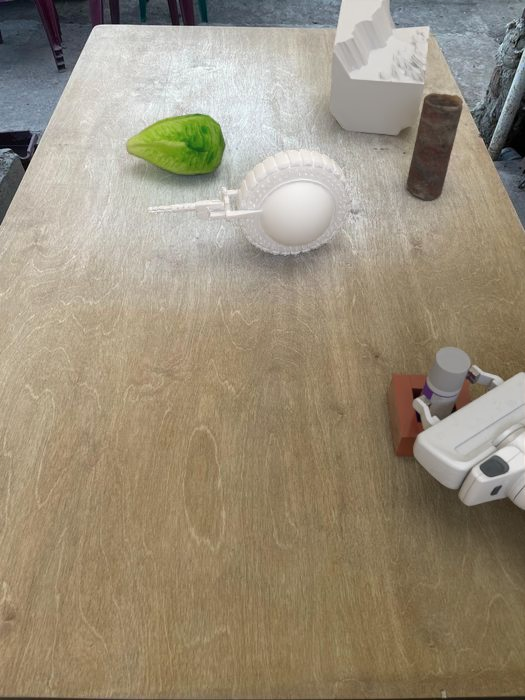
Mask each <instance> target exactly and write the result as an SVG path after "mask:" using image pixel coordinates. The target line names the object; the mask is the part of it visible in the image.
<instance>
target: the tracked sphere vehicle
mask: <svg viewBox="0 0 525 700" xmlns="http://www.w3.org/2000/svg"><path fill="white" fill-rule="evenodd" d="M252 168H253V169H250V170H249V171H248V172H247V173H246V175H245V178H243V179H242V181H241V183H240V185H239V188H238V189H228V188H227V186H222V187H221V190H220V195H221V200H220V199H218V198H217V199H205V200H196V201H195V202H184V203H174V204H171V205H159V206H157V205H154V206H149V207H147V214H149V215H154V214H155V215H158V214H163V213H164V214H167V213H187V212H194V211H195V212H196V218H197V220H201V221H209V220H210V221H222V220H225V223H230V222H231V221H232V220H238V223H239V227H240V230H241V233H242V234H243V237H245V239H246V240H247V241H248V242H249V243H250V244H251V245H252V246H254V247H255V249H257V250H258V249H260V251H262V252H263V253H269V254H272V255H274V256H279V255H280V256H284V257H287V256H290V255H291V256H297V255H300V254H301V253H302V254H308V253H309V252H311V251H312V250H315V249H316V250H318V249H319V247H322V245H325V244H328V242H329V241H331V239H333V238H334V237H337V234H338V233H339V231H341V230H342V229H344V226H345V224H346V222H347V220H349V216H350V213H351V210H352V205H353V204H352V202H353V196H352V195H353V194H352V190H351V187H350V184H349V182H348V180H347V177H346V175H345V173H344V171H343V169H342V168H341V167H340V165H339V164H338V163H337V161H335V160H334V159H333V158H331V157H329V156H328V155H326V154H325V153H321V151H316V150H309V149H305V148H302V149H301V148H299V149H297V148H295V149H292V148H290V149H288V150H286V152H285V151H284V150H283V151H278V152H277V153H274V156H273V155H270V156H266V158H264V159H262V161H260V162H258V163H256V165H254V166H253V167H252ZM233 198H235V210H231V203H230V199H233Z"/></svg>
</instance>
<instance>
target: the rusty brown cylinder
mask: <svg viewBox="0 0 525 700" xmlns="http://www.w3.org/2000/svg"><path fill="white" fill-rule="evenodd" d="M463 102H464V101H463V99H462V98H461V97H460V96H459V95H457V94H454V95H452V94H448V93H435V92H430V93H429V94H426V96H424V97H423V102H422V108H421V112H420V117H419V123H418V128H417V133H416V137H415V142H414V146H413V151H412V154H411V155H412V156H411V159H410V160H411V161H410V166H409V170H408V175H407V179H406V180H407V181H406V186H407V189H408V190H409V191H410V192H411V193H412V195H413V196H416V197H417V198H420V199H422V200H423V201H427V202H429V201H433V200H435V199H436V198H439V197H440V196H441V194H442V192H443V189H444V185H445V181H446V177H447V173H448V169H449V164H450V160H451V155H452V151H453V147H454V144H455V140H456V136H457V132H458V127H459V124H460V120H461V116H462V111H463V106H464V105H463Z"/></svg>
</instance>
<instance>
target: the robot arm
mask: <svg viewBox="0 0 525 700" xmlns="http://www.w3.org/2000/svg"><path fill="white" fill-rule="evenodd" d="M466 379H467V381H468V382H469V383H470V384H471V385H474V384H475V383H478V384H479V385H482V386H484V387H487V388H488V389H487V391H486V392H485V393H484V394H482V395H480V396H478V397H477V398H475V399H474V400H472V402H471V403H469V404H467V405H466V406H464V407H462V408H461V409H459V410H457V411H456V412H454V413H453V414H451V415H449V416H448V417H446V418H444V419H443V420H441V421H440V420H439V419H438V418H437V417H436V416H433V417H431V414H430V411H429V409H430V406H431V404H432V402H431V401H430V400H429V399H427V398H426V396H425V395H421V396H419V397H418V398H416V399H414V401H413V407H414V408H415V410H416V411H417V412H418V413H419V414H420V416H421V421H422V425H423V429H424V430H425V431H423V432H421V433H420V434H419V435H418V436H417V438H416V440H415V443H414V446H413V453H414V456H413V457H414V458H415V459H416V461H417V462H418V463H419V464H420V465H421V466H422V467H423V469H425V470H426V471H427V473H429V474H430V475H431V476H432V477H433V478H434V479H435V480H436V481H438V482H439V483H440V485H443V486H444V487H446V488H448V489H451V490H458V491H459V492H458V494H457V495H458V499H459V500H460V501H461V502H462V503H463V504H464V505H465V506H467V507H473V506H476V505H479V504H483V503H484V504H485V503H488V502H492V501H496V500H502V499H506V498H508V499H509V500H510V501H511V502H512V503H513V504H514V505H515V506H517V507H518V508H519V509H521V510H523V511H525V372H523V371H520V372H518V373H517V374H514V375H513V376H511V377H510V378H508V379H507V380H504V379H503V378H501V376H499V375H496V374H493V373H490V372H487V371H483V370H482V369H481V368H479V367H478V365H477V364H472V365H470V367H469V370H468V373H467V375H466Z"/></svg>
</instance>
